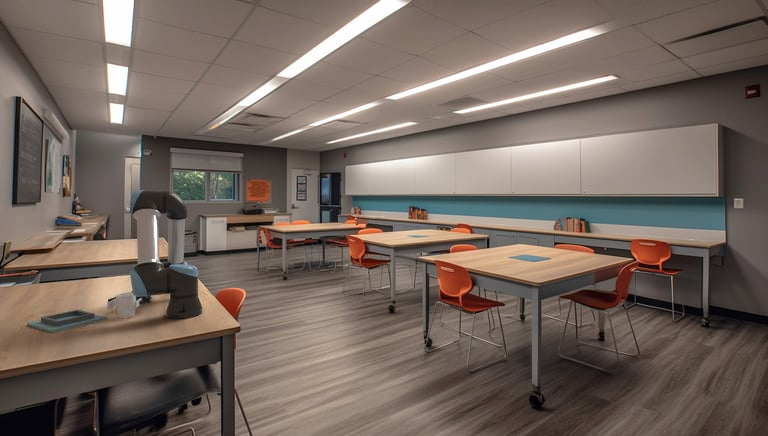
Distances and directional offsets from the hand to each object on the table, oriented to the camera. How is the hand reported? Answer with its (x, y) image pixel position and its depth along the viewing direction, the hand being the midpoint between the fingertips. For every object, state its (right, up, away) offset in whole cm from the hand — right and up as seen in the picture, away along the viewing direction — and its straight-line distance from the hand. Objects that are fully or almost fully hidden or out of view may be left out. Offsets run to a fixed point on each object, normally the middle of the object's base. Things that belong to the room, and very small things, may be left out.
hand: (122, 305), depth 167 cm
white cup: (-1, -6, +4) cm, 8 cm away
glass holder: (-19, -6, -6) cm, 21 cm away
